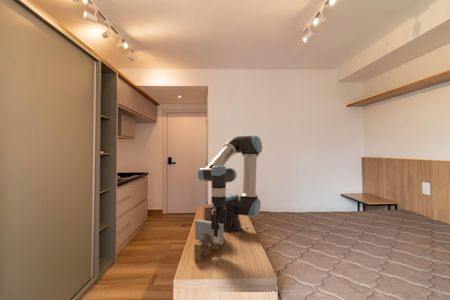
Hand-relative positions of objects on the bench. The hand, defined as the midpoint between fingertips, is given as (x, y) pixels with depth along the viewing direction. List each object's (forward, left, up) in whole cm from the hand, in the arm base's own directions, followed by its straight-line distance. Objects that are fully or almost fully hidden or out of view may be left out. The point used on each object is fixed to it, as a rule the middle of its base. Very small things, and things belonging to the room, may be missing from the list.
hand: (218, 241), depth 119 cm
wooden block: (-19, -16, -7) cm, 26 cm away
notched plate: (0, -6, -1) cm, 6 cm away
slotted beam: (0, -6, -7) cm, 9 cm away
